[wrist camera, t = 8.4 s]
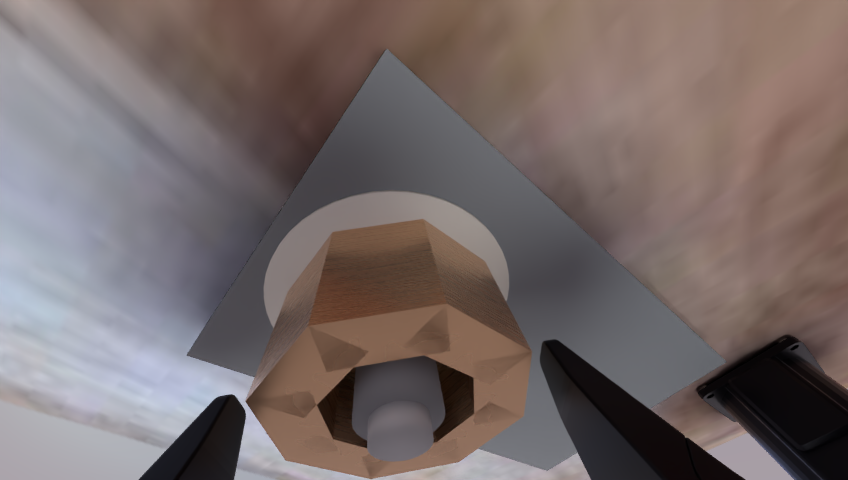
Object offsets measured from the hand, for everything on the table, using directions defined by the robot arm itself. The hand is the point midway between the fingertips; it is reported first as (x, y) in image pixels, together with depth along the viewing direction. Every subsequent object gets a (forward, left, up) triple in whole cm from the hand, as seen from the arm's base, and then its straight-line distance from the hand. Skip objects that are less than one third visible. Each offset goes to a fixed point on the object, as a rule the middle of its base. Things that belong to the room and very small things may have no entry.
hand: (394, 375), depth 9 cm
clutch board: (-7, 0, -5) cm, 8 cm away
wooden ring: (0, 0, -3) cm, 3 cm away
